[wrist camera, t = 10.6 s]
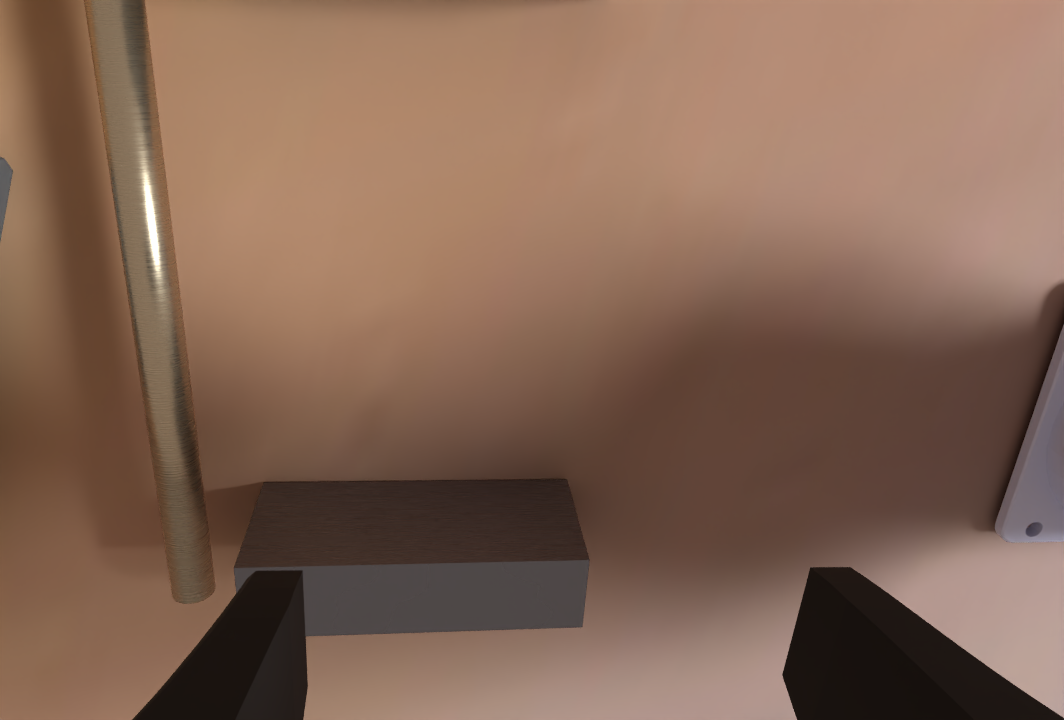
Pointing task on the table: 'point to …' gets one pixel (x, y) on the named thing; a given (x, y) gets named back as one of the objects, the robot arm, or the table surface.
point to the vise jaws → (314, 507)
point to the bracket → (4, 189)
